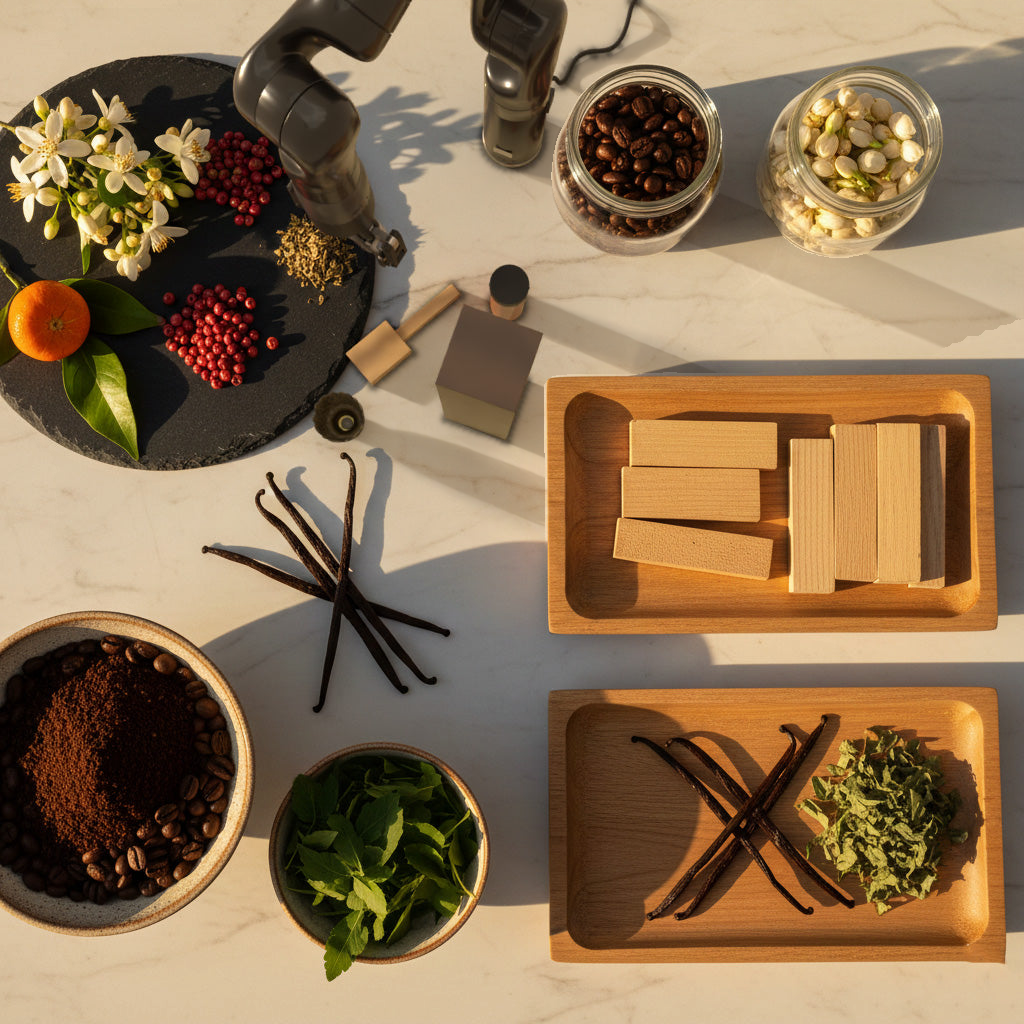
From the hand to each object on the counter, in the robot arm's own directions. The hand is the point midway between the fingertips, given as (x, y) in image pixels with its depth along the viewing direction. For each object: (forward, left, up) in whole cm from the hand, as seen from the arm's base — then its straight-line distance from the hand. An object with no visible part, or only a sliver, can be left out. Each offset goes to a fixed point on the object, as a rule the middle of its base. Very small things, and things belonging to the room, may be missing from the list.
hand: (357, 241), depth 100 cm
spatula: (+4, +6, -25) cm, 25 cm away
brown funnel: (+20, +2, -25) cm, 32 cm away
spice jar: (-6, +19, -25) cm, 31 cm away
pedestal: (+9, +21, -25) cm, 33 cm away
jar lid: (-6, +19, -14) cm, 24 cm away
